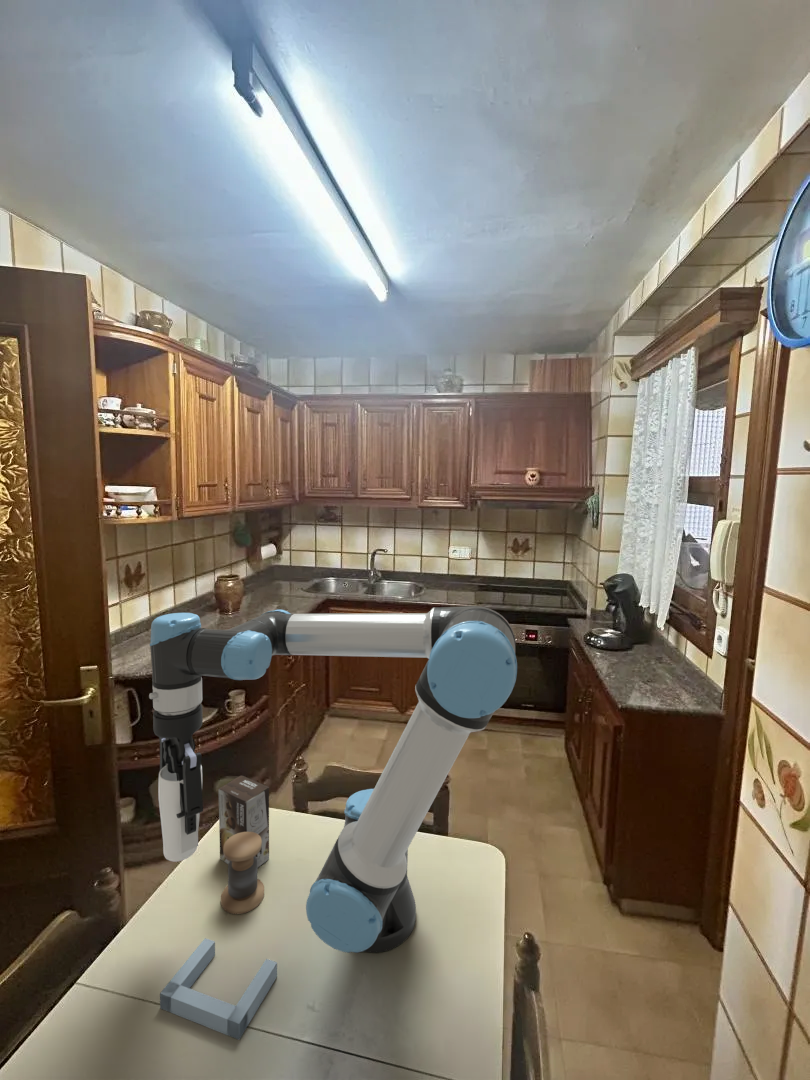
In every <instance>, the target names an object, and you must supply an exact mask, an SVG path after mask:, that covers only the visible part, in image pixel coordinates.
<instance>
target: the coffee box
mask: <svg viewBox="0 0 810 1080" xmlns="http://www.w3.org/2000/svg"><path fill="white" fill-rule="evenodd" d="M218 823H219V824H218V825H219V826H218V827H219V831H218V832H219V859H220V861H222V862H223V863H225V864H227V865H228V864H229V862H230V860H228V859H226V858H225V856H224V853H223V847H224V844H225V842H226V841H227V840H228V839H229V838H230V837H231V836H233V835H235V834H237V833H241V832H254V833H257V834H258V835H259V836H260V837H261V840H262V847H261V850H260V851H259V853H258V854H257V855H255V856H256V858H257V869H258V868H260V867H261V865H264V864H265V863H266V862H267V861H269V860H270V787H269V786H267V785H266V784H263V783H260V782H258V781H256V780H254V779H251V778H249V777H246V776H244V775H242V774H241V775H239V776H237V777H236V778H234V779H233V780H231V781H229V782H227V783H226V784H224V785H222V786H221V787H219V788H218Z"/></svg>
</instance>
